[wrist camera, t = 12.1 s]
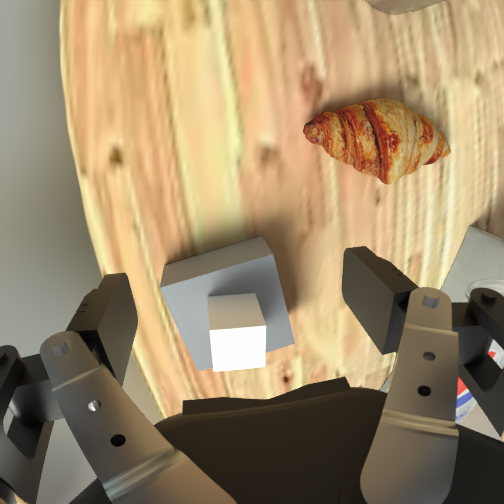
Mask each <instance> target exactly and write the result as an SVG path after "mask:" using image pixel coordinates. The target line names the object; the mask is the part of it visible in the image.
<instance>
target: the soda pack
mask: <svg viewBox="0 0 504 504" xmlns="http://www.w3.org/2000/svg"><path fill="white" fill-rule="evenodd" d="M479 287H483V288H489V289H492V290H495V291H497V292H498V293H500V294H501V295H503V296H504V240H502V239H500V238H498V237H496V236H494V235H492V234H490V233H488V232H486V231H484V230H482V229H479V228H477V227H475V226H469V228H468V230H467V233H466V236H465V238H464V241H463V243H462V246H461V248H460V250H459V252H458V254H457V256H456V258H455V261H454V263H453V265H452V267H451V269H450V271H449V273H448V275H447V277H446V279H445V281H444V283H443V285H442V287H441V289H440V290H441V291H443V292H444V293H446V294H447V295H448V296H449V297H450V299H451V302H468V300H469V296H470V292H471V291H472V290H473V289H475V288H479ZM488 354H489V355H490V356H491V357H492V358H493V360H494V361H495V362H496V363H497V364H498V365H499V367H500V368H502V367H503V365H504V350H503V349H502V348H501V347H500V346H499V345H498V343H497V342H496V341H495V340H494V339H493V342H492V344H491V347H490V349H489V352H488ZM391 374H392V373H391ZM391 374H390V376H389V377H388V379H387V380H386V382H385V383H384V385H383V386H382V388H381V389H380V390H379V391H382V392H385V393H386V392H387V388H388V385H389V381H390V378H391ZM476 404H477V401H476V400H475V399H474V397H473V396H472V394H471V393H470V391H469V390H468V389H467V387H466V386H465V385H464V383H463V382H462V380H461V379H460V378H459V376H458V391H457V406H456V418H455V423H457V424H459V425H460V424H461V422H462V421H463V420H464V419H465V417H466V416H467V415H468V414H469V413H470V411H471V410H472V408H474V406H475V405H476Z"/></svg>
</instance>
